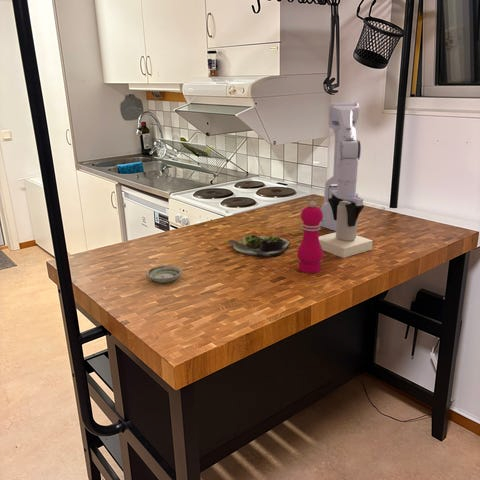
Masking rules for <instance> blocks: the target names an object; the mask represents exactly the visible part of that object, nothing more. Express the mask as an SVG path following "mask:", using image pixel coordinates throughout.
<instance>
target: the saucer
mask: <svg viewBox="0 0 480 480" xmlns="http://www.w3.org/2000/svg"><path fill="white" fill-rule="evenodd" d="M182 274H183V270H182V269H181V268H180V267H179V266H178V267H177V266H176V265H175V266H174V265H157V266H154V267H151V268H149V269H148V270H147V271H146V272H145V276H146V277H148V278H149V279H150V280H152V281H153V282H156V283H160V284H167V283H172V282H173V281H174V280H176V279H178V278H179V277H180V276H181V275H182Z"/></svg>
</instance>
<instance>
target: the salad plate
mask: <svg viewBox="0 0 480 480" xmlns="http://www.w3.org/2000/svg"><path fill="white" fill-rule="evenodd" d="M227 242H228V244H231V245H232V246H233V249H234V250H235V251H237V252H238V253H240V254H243V255H251V256H255V257H262V258H273V257H279V256H280V255H282V254H284V253H285V252H286V251H287V250H288V249H289V247H290V244H291V243H290V241H289V240H287V239H285V238H282V237H279V236H278V237H277V236H271V235H270V236H262V235H254V234H249V235H247V236H242V238H241V239H240V240H239V241H235V240H233V239H229V240H228V241H227Z"/></svg>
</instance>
